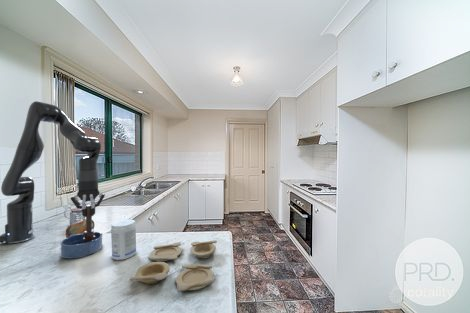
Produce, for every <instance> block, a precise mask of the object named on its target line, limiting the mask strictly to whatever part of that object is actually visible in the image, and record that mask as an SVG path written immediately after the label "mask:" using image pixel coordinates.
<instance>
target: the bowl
mask: <svg viewBox="0 0 470 313" xmlns="http://www.w3.org/2000/svg"><path fill="white" fill-rule="evenodd" d="M94 236H95V240H93V241H90V242H87V243H83V238H84V233H81V234H77V235H73V236H70V237H68V238H66V237H65V238H63V239H62V241H60V255H61V256H60V257H61V258H64V259H77V258H82V257H86V256H89V255H91V254H94V253H96V252H98V251H100V249H102V247H103V234H102V232H99V231H94Z"/></svg>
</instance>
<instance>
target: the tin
mask: <svg viewBox="0 0 470 313" xmlns="http://www.w3.org/2000/svg"><path fill="white" fill-rule="evenodd" d="M81 220H82V221H79V222H77V223H74V224H71V225H70V224H69V225H70V226H69V225H68V226H67V227H66V229H65V233H64V234H65V239H66V238H68V237H70V236H73V235H77V234H81V233H84V232H85V231H86V218H85V220H83V219H81ZM94 229H95V221H94V219H92V230H94Z"/></svg>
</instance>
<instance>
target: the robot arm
mask: <svg viewBox="0 0 470 313" xmlns="http://www.w3.org/2000/svg"><path fill="white" fill-rule="evenodd" d="M42 122H43V123H53V124H55V125H57V126H58V130H59V133H60V134H61V135H62V136H63V137H64V138H66V139H67V140H68V141H69V142H70V144H71V146H72V147H73V149H74V150H75V151H77V152H79V153H87V154H86V156H84V157H83V156H82V157H80V158H79V160H78V176H77V182H78V183H77V186H78V188H77V192H76V195H73V196H71V197H70V201H71V203H72V202H73V203H74V204H75V205H74V206H75V207H76V209H77V208H80V209H82V216H84V217H85V218H86V206H87V202H90V205H91V206H92V208H91V216H92V217H93V216H94V215H96V208H97V207H99V206H100V205H101V203H102V201H103V200H104V198H105V197H106V194H105V193H101V192H100V190H99V173H98V160H99V157H100V153H101V149H102V142H101V141H100V140H99V139H98V138H96V137H89V136H87V134H86V133H85V131H83V130H82V129H81V128H80V127H78V126H77V125H75V124H74V123H73V122H72V121H71V120H70V118H68V116H67V115H66V114H65V113H64V112H63V110H61V108H60V107H59V106H57V105H55V104H51V103H47V102H42V101H33V102H31V104H30V105H29V107H28V110H27V114H26V119H25V124H24V127H23V131H22V133H21V137H20V139H19V142H18V144H17V146H16V149H15V153H14V156H13V159H12V162H11V163H10V165H9V166H10V167H9V169H8V170H7V172H6V174H5V176H4V178H3V180H2V183H1V187H0V191H1V193H2V195H3V196H5V197H12V196H13V197H15V196H18V197H17V198H16V199H14V200H12V201H10V202H8V203H7V204H6V224H5V225H4V233H2V234H1V235H0V244H3V243H4V244H5V245H7V244H11V245H12V244H18V243H19V244H20V243H24V242H27V241H29V240H32V239H33V238H34V232H35V229H34V221H33V220H34V219H33V217H34V215H33V212H34V211H33V203H34V200H35V180H34V179H33V177H30V176H23V175H24V173H25V172H26V171H27V170H28V169H29V168H31V167H32V166H33V165H34V164H36V163H37V162H38V161H39V160H40V159H41V157H42V154H43V152H44V148H45V143H44V141H43V139H42V136H41V134H40V132H39V131H40V130H39V128H40V124H41V123H42ZM97 197H98V198H99V199H98V201H97V203H96V198H97ZM77 199H80V201H82V204H81V205H80V203H79V202H78V201H79V200H77Z"/></svg>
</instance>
